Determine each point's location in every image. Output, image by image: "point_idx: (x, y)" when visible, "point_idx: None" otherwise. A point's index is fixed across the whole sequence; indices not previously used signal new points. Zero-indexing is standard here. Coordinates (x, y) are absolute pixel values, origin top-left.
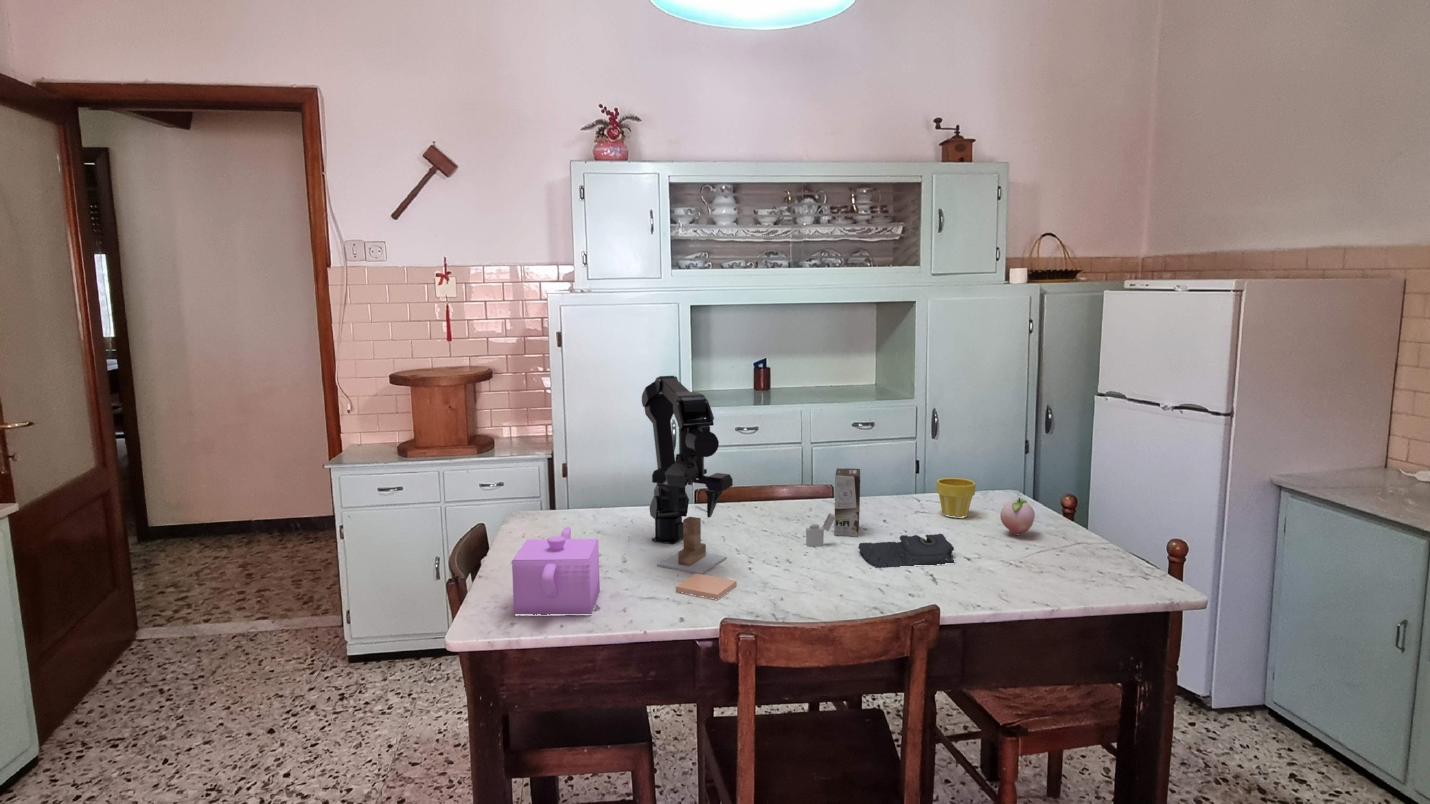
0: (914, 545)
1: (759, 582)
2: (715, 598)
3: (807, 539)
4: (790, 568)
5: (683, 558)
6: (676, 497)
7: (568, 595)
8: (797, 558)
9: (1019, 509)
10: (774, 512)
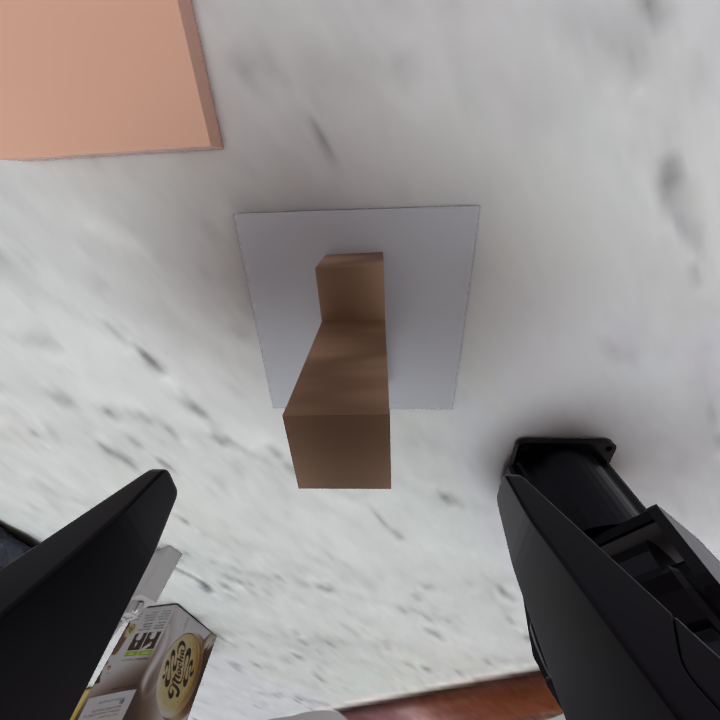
0: None
1: (10, 253)
2: None
3: (158, 564)
4: (65, 412)
5: (354, 259)
6: (569, 669)
7: None
8: (119, 479)
9: None
10: (373, 658)
